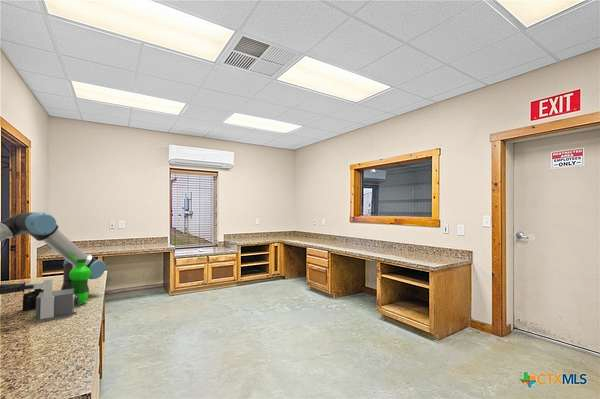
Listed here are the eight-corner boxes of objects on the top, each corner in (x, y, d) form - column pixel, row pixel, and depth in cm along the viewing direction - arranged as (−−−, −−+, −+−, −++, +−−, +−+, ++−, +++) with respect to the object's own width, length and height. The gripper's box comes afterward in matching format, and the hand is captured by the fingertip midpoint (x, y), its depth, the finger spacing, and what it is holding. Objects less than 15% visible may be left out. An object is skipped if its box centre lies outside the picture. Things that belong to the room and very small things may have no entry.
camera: (36, 312, 159) (36, 292, 159) (19, 311, 161) (19, 292, 161) (61, 304, 172) (61, 286, 173) (45, 303, 174) (46, 285, 175)
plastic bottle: (88, 300, 179) (92, 257, 181) (88, 305, 171) (92, 260, 173) (66, 302, 174) (71, 258, 175) (65, 307, 165) (70, 260, 167)
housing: (39, 314, 156) (40, 292, 156) (79, 308, 165) (79, 287, 165) (34, 322, 144) (35, 298, 145) (77, 315, 153) (77, 293, 154)
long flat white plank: (40, 318, 146) (41, 279, 147) (53, 316, 149) (54, 278, 150) (40, 319, 145) (41, 280, 146) (53, 317, 148) (54, 278, 149)
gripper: (-22, 297, 139) (45, 290, 152) (-33, 304, 128) (40, 296, 141) (-22, 280, 139) (45, 274, 152) (-32, 286, 128) (41, 279, 141)
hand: (43, 285), depth 146 cm, fingers closed
